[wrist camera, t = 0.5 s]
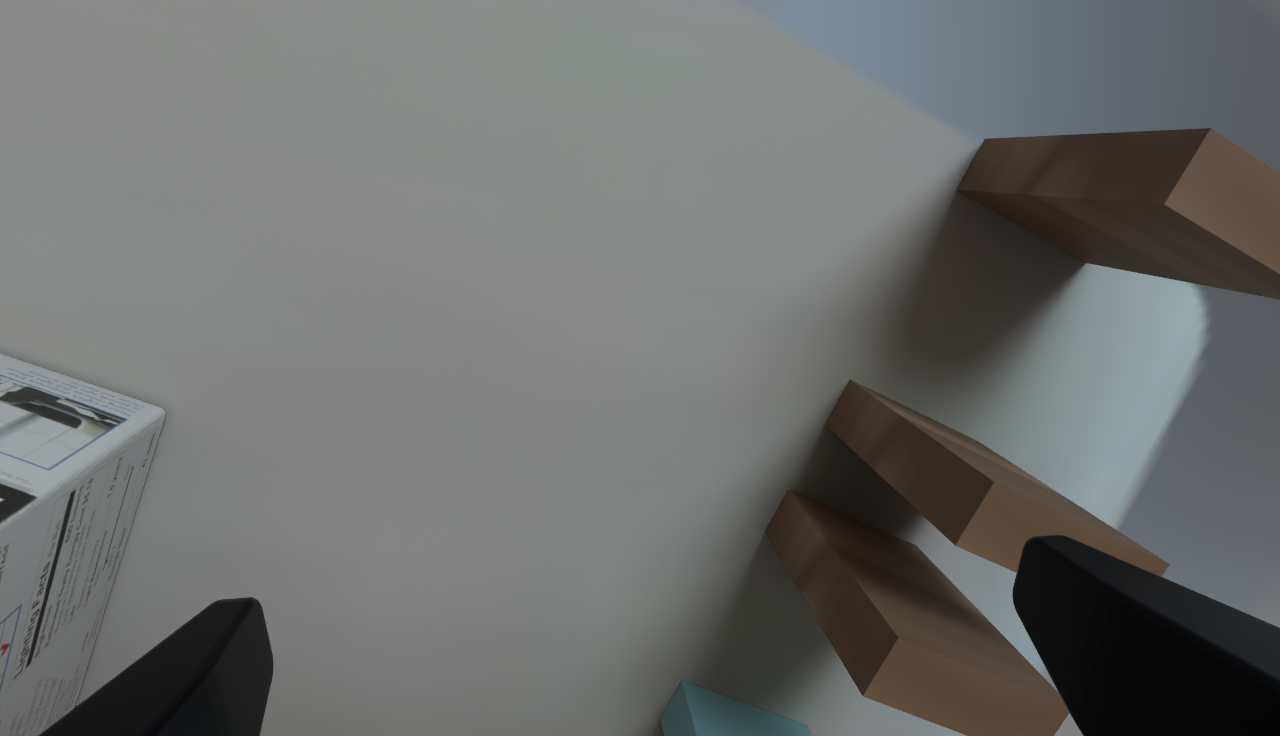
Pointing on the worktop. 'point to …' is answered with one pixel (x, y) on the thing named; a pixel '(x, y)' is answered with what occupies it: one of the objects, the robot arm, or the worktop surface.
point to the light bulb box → (61, 530)
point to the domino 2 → (968, 484)
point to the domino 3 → (909, 627)
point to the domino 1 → (1142, 202)
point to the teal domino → (722, 716)
